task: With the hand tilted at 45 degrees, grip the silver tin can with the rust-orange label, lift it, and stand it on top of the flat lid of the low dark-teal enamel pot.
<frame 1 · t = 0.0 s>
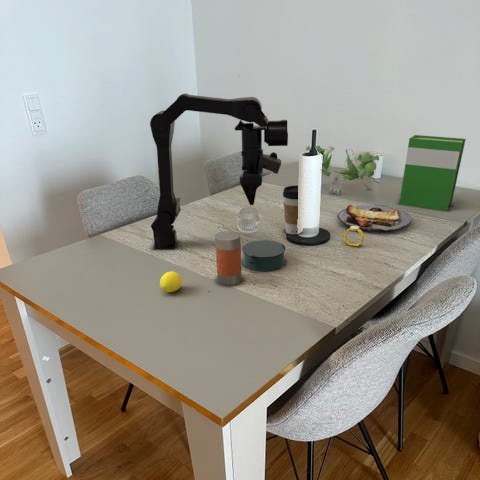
hand: (252, 200, 141), 15 cm above the table, tool pointing down, fingers open, 9 cm apart
coffee cup: (294, 232, 158), on the table
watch: (353, 245, 147), on the table
food plate: (373, 222, 164), on the table
pot: (263, 262, 138), on the table
can: (229, 280, 129), on the table
hardback book: (424, 205, 179), on the table
lemon: (172, 291, 124), on the table
plant cuttings: (341, 191, 196), on the table
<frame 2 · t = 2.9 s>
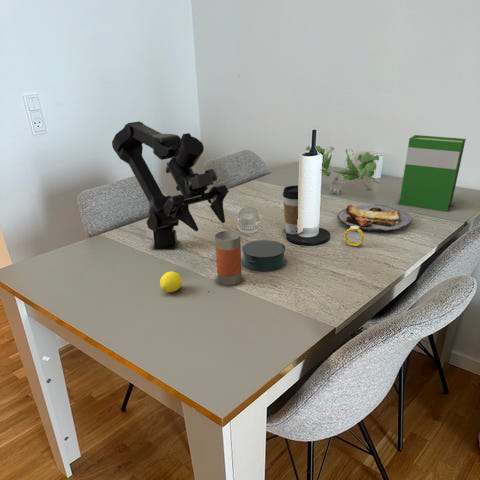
hand: (210, 226, 127), 13 cm above the table, tool tilted 45°, fingers open, 9 cm apart
nothing on the table moved.
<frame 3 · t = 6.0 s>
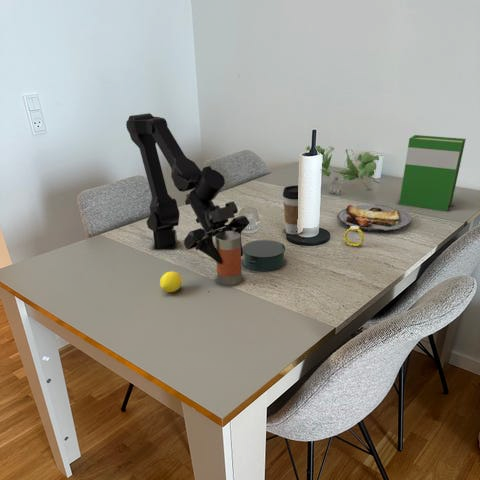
hand: (231, 259, 124), 7 cm above the table, tool tilted 45°, fingers closed on can, 7 cm apart
can: (229, 280, 129), on the table, touching gripper
everything else where it was.
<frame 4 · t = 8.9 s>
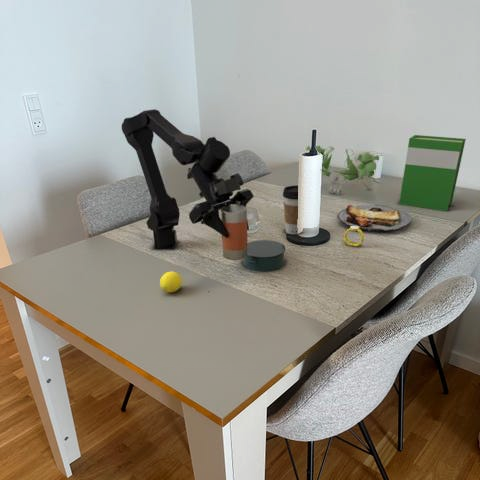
hand: (238, 233, 122), 13 cm above the table, tool tilted 45°, fingers closed on can, 7 cm apart
can: (235, 255, 126), point 7 cm above the table, touching gripper
everything else where it was.
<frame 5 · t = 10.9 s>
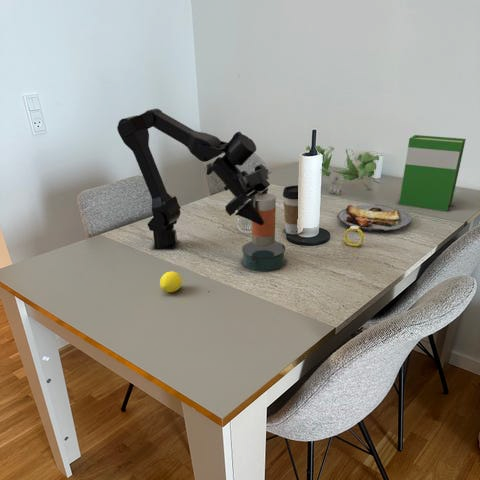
hand: (267, 220, 130), 13 cm above the table, tool tilted 45°, fingers closed on can, 7 cm apart
can: (263, 241, 134), point 7 cm above the table, touching gripper
everything else where it was.
when the fingers open (11 cm above the table, at t = 12.2 s): can stays where it is, resting on pot.
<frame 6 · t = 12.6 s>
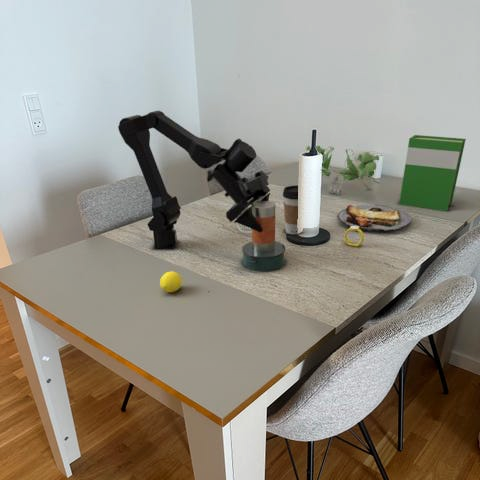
hand: (268, 225, 131), 11 cm above the table, tool tilted 45°, fingers open, 9 cm apart
can: (263, 248, 135), point 4 cm above the table, touching pot
everything else where it was.
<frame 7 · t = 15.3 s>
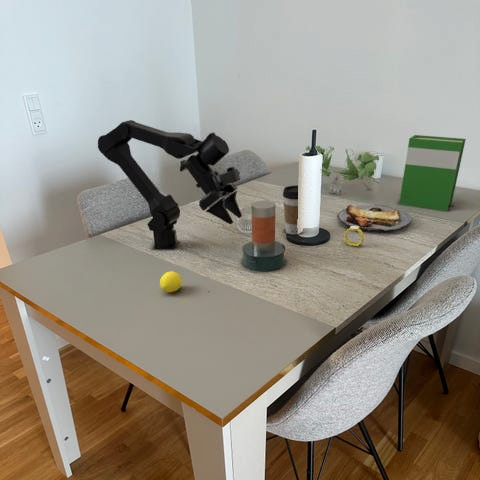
hand: (236, 220, 135), 12 cm above the table, tool tilted 40°, fingers open, 9 cm apart
nothing on the table moved.
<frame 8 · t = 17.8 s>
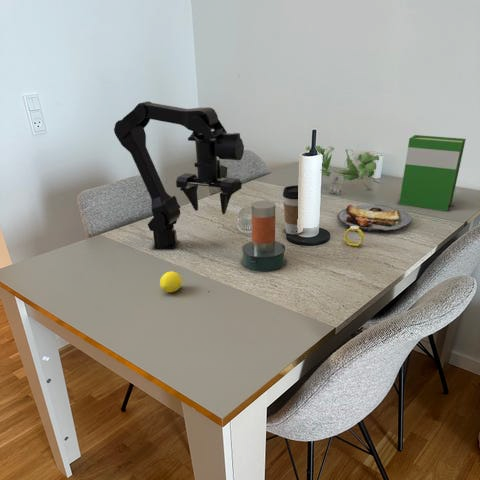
hand: (210, 212, 138), 13 cm above the table, tool pointing down, fingers open, 9 cm apart
nothing on the table moved.
at the end: can 0.1 cm off-centre on the pot, point 4.5 cm above the pot's base; can tilted 0°; can touching pot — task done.
